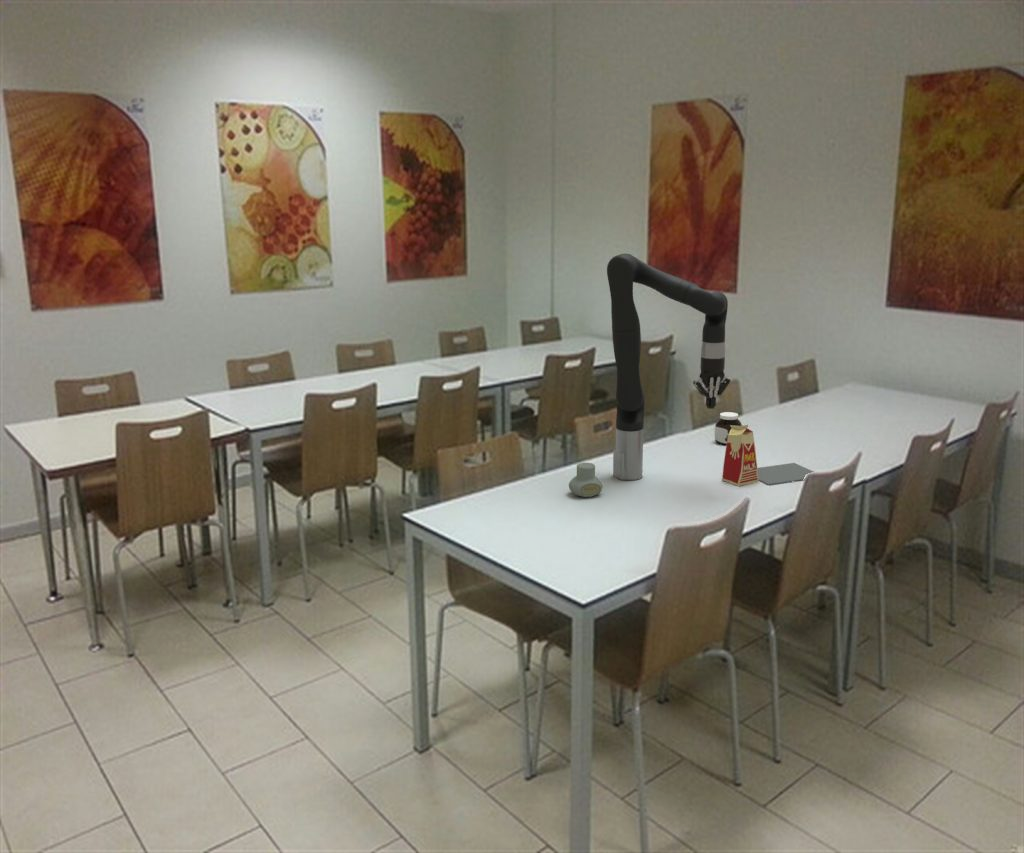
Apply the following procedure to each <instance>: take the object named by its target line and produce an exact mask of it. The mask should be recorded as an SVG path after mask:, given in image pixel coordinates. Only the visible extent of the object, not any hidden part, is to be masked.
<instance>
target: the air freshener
mask: <svg viewBox="0 0 1024 853" xmlns="http://www.w3.org/2000/svg"><path fill="white" fill-rule="evenodd" d="M603 486H604V484H603V482H602V480H601V479H600V478H599V477H598V476H596V466H595V464H594V463H592V462H580V463H578V464H577V465H576V476H574V477H572V478H571V479H570V481H569V483H568V488H569V490H570V492H571V493H573V494H574V495H575V496H579V497H581V496H583V497H582V498H591V497H590V496H592V497H594V496H596V495H598V494H600V492H602V490H603Z"/></svg>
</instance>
